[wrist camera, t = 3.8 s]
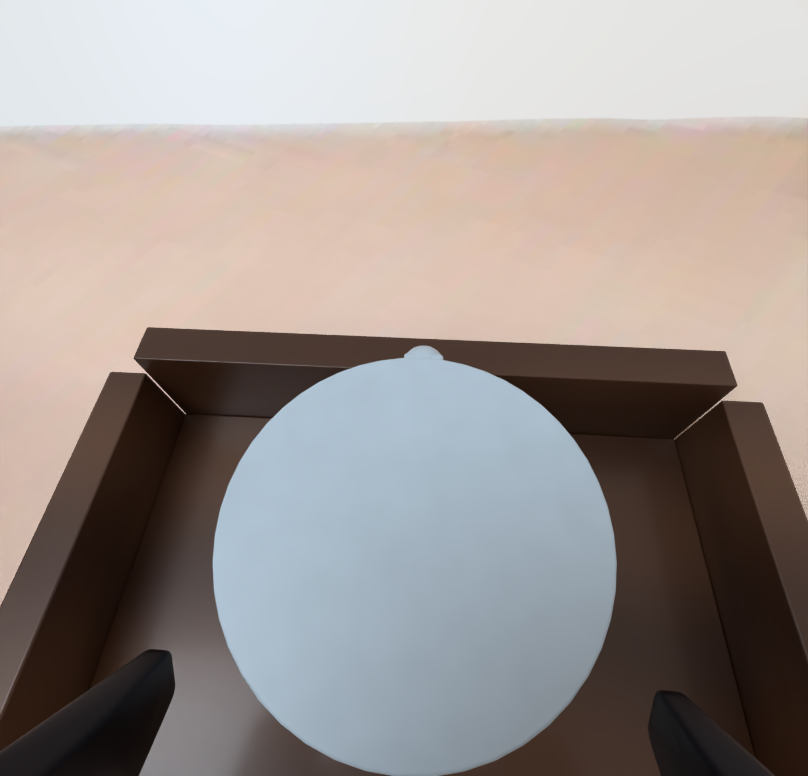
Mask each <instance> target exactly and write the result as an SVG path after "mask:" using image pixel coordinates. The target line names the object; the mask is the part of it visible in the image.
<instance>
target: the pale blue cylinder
mask: <svg viewBox="0 0 808 776" xmlns="http://www.w3.org/2000/svg"><path fill="white" fill-rule="evenodd" d="M616 569H617V560H616V550H615V539H614V532H613V527H612V523H611V519H610V514H609V510H608V506H607V503H606V501H605V498H604V495H603V492H602V490H601V487H600V484H599V482H598V480H597V478H596V476H595V474H594V472H593V470H592V468H591V466H590V464H589V462H588V460H587V458H586V457H585V455H584V454H583V452H582V451H581V449H580V448H579V446H578V445H577V443H576V442H575V440H574V439H573V438H572V436H571V435H570V434H569V433H568V432H567V431H566V429H565V428H564V427H563V426H562V425H561V423H560V422H559V421H558V420H557V419H556V418H555V417H554V416H553V415H552V414H551V413H549V412H548V411H547V410H546V409H545V408H544V407H543V406H542V405H541V404H540V403H538V402H537V401H536V400H534V399H533V398H532V397H530V396H529V395H528V394H526V393H525V392H524V391H522V390H520V389H519V388H517V387H515V386H513V385H512V384H510V383H508V382H507V381H505V380H503V379H501V378H499V377H496V376H494V375H492V374H490V373H488V372H485V371H483V370H480V369H477V368H473V367H470V366H467V365H464V364H460V363H455V362H450V361H445V360H443V356H442V355H441V354H440V353H439V352H438V351H437V350H436V349H434V348H432V347H430V346H417V347H414V348H413V349H411V350H410V351H409V352H408V353H406V354H405V355H404V358H398V359H389V360H381V361H376V362H372V363H368V364H363V365H359V366H356V367H353V368H350V369H348V370H345V371H342V372H339V373H337V374H335V375H333V376H331V377H329V378H326V379H324V380H322V381H320V382H318V383H317V384H315V385H314V386H312V387H310V388H309V389H307V390H306V391H304V392H302V393H301V394H299V395H298V396H297V397H296V398H294V399H293V400H292V401H291V402H289V403H288V404H287V405H285V406H284V407H283V408H282V409H281V410H280V411H279V412H278V413H277V414H276V415H275V416H274V417H273V418H272V419H271V420H270V421H269V422H268V423H267V424H266V425H265V426H264V428H263V429H262V430H261V431H260V433H259V434H258V435H257V436H256V438H255V439H254V440H253V441H252V443H251V444H250V446H249V448H248V449H247V451H246V452H245V454H244V455H243V457H242V459H241V460H240V462H239V464H238V466H237V468H236V470H235V472H234V474H233V476H232V478H231V480H230V483H229V485H228V488H227V491H226V494H225V496H224V499H223V502H222V505H221V508H220V513H219V517H218V522H217V527H216V532H215V539H214V551H213V582H214V594H215V600H216V605H217V611H218V616H219V621H220V624H221V627H222V630H223V633H224V636H225V639H226V642H227V645H228V648H229V650H230V652H231V654H232V656H233V658H234V661H235V663H236V665H237V667H238V669H239V671H240V673H241V675H242V676H243V678H244V679H245V681H246V682H247V684H248V685H249V687H250V688H251V690H252V691H253V693H254V694H255V695H256V697H257V698H258V700H259V701H260V702H261V703H262V704H263V705H264V707H265V708H266V709H267V710H268V711H269V712H270V713H271V714H272V715H273V716H274V717H275V718H276V720H277V721H278V722H279V723H280V724H281V725H283V726H284V727H285V728H286V729H288V730H289V731H290V732H291V733H293V734H294V735H295V736H296V737H298V738H299V739H300V740H302V741H303V742H304V743H305V744H307V745H309V746H310V747H312V748H314V749H316V750H318V751H319V752H321V753H323V754H325V755H327V756H328V757H330V758H332V759H334V760H336V761H339V762H342V763H345V764H347V765H350V766H353V767H356V768H358V769H361V770H364V771H368V772H374V773H379V774H385V775H391V776H441V775H447V774H453V773H459V772H464V771H467V770H470V769H473V768H476V767H479V766H482V765H485V764H488V763H490V762H493V761H496V760H498V759H499V758H501V757H503V756H505V755H507V754H509V753H510V752H512V751H514V750H516V749H518V748H520V747H521V746H523V745H525V744H526V743H527V742H529V741H530V740H531V739H532V738H534V737H535V736H536V735H537V734H539V733H540V732H541V731H543V730H544V729H545V728H546V727H548V726H549V725H550V724H551V723H552V722H553V721H554V720H555V719H556V718H557V716H558V715H559V714H560V713H561V712H562V711H563V710H564V709H565V708H566V707H567V706H568V705H569V704H570V703H571V701H572V700H573V698H574V697H575V695H576V694H577V692H578V691H579V689H580V688H581V686H582V685H583V684H584V682H585V681H586V679H587V678H588V676H589V674H590V672H591V670H592V668H593V666H594V664H595V662H596V660H597V657H598V655H599V653H600V651H601V649H602V646H603V643H604V640H605V637H606V634H607V630H608V627H609V624H610V621H611V616H612V610H613V604H614V598H615V592H616Z"/></svg>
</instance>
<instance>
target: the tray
mask: <svg viewBox="0 0 808 776" xmlns="http://www.w3.org/2000/svg"><path fill="white" fill-rule="evenodd" d="M417 346H430V347H432V348H434V349H436V350H437V351H438V352H439V353H440V354H441V355H442V356H443V360H445V361H450V362H455V363H460V364H464V365H467V366H470V367H473V368H477V369H480V370H483V371H485V372H488V373H490V374H492V375H494V376H496V377H499V378H501V379H503V380H505V381H507V382H508V383H510V384H512V385H513V386H515V387H517V388H519V389H520V390H522V391H524V392H525V393H526V394H528V395H529V396H530V397H532V398H533V399H534V400H536V401H537V402H538V403H540V404H541V405H542V406H543V407H544V408H545V409H546V410H547V411H548V412H549V413H551V414H552V415H553V416H554V417H555V418H556V419H557V420H558V421H559V422H560V423H561V425H562V426H563V427H564V428H565V429H566V431H567V432H568V433H569V434H570V435H571V436H572V438H573V439H574V440H575V442H576V443H577V445H578V446H579V448H580V449H581V451H582V452H583V454H584V455H585V457H586V458H587V460H588V462H589V464H590V466H591V468H592V470H593V472H594V474H595V476H596V478H597V480H598V482H599V484H600V487H601V490H602V492H603V495H604V498H605V501H606V503H607V506H608V510H609V514H610V519H611V523H612V527H613V532H614V539H615V550H616V560H617V569H616V592H615V598H614V604H613V610H612V616H611V621H610V624H609V627H608V630H607V634H606V637H605V640H604V643H603V646H602V649H601V651H600V653H599V655H598V657H597V660H596V662H595V664H594V666H593V668H592V670H591V672H590V674H589V676H588V678H587V679H586V681H585V682H584V684H583V685H582V686H581V688H580V689H579V691H578V692H577V694H576V695H575V697H574V698H573V700H572V701H571V703H570V704H569V705H568V706H567V707H566V708H565V709H564V710H563V711H562V712H561V713H560V714H559V715H558V716H557V718H556V719H555V720H554V721H553V722H552V723H551V724H550V725H549V726H548V727H546V728H545V729H544V730H543V731H541V732H540V733H539V734H537V735H536V736H535V737H534V738H532V739H531V740H530V741H529V742H527V743H526V744H525V745H523V746H521V747H520V748H518V749H516V750H514V751H512V752H510V753H509V754H507V755H505V756H503V757H501V758H499V759H498V760H496V761H493V762H490V763H488V764H485V765H482V766H479V767H476V768H473V769H470V770H467V771H464V772H459V773H453V774H447V775H441V776H661V774H660V771H659V768H658V765H657V762H656V758H655V755H654V752H653V749H652V745H651V742H650V739H649V733H648V723H649V718H650V714H651V709H652V704H653V700H654V696H655V693H656V692H657V691H658V690H667V691H678V692H681V693H683V694H684V695H686V696H687V697H688V698H689V699H690V700H691V701H693V702H694V703H695V704H696V705H697V706H698V707H699V708H700V709H701V710H703V711H704V712H705V713H706V714H707V715H708V716H709V717H710V718H711V719H713V720H714V721H715V722H716V723H717V724H718V725H719V726H720V727H721V728H723V729H724V730H725V731H726V732H727V733H728V734H729V735H730V736H731V737H733V738H734V739H735V740H736V741H737V742H738V743H739V744H740V745H741V746H743V747H744V748H745V749H746V750H747V751H748V752H749V753H750V754H751V755H753V756H754V757H755V758H756V759H757V760H758V761H759V762H760V763H761V764H763V765H764V766H765V767H766V768H767V769H768V770H769V771H770V772H771V773H773V774H774V775H775V776H808V520H807V517H806V515H805V512H804V510H803V507H802V504H801V502H800V499H799V496H798V494H797V491H796V488H795V486H794V483H793V481H792V478H791V475H790V473H789V470H788V467H787V465H786V462H785V460H784V457H783V454H782V452H781V449H780V446H779V444H778V441H777V438H776V436H775V433H774V431H773V428H772V425H771V423H770V420H769V417H768V415H767V412H766V410H765V407H764V404H763V403H761V402H740V401H721V402H720V403H719V404H718V405H716V406H715V407H714V408H713V409H711V410H710V411H709V412H708V413H707V414H705V415H704V416H703V417H702V418H701V419H699V420H698V421H697V422H696V423H694V424H693V425H692V426H691V427H690V428H688V429H687V430H686V431H685V432H684V433H682V434H681V435H680V436H679V437H677V438H676V439H675V440H674V438H675V437H676V436H677V435H679V434H680V433H681V432H682V431H684V430H685V429H686V428H687V427H688V426H690V425H691V424H692V423H693V422H694V421H696V420H697V419H698V418H699V417H700V416H702V415H703V414H704V413H705V412H706V411H708V410H709V409H710V408H711V407H712V406H714V405H715V404H716V403H717V402H718V401H720V400H721V399H722V398H723V397H724V396H726V395H727V394H728V393H729V392H730V391H732V390H733V389H734V388H735V387H736V386H737V383H736V380H735V377H734V374H733V372H732V369H731V366H730V363H729V360H728V358H727V355H726V352H725V351H705V350H681V349H656V348H632V347H608V346H584V345H560V344H536V343H512V342H488V341H463V340H439V339H415V338H391V337H367V336H343V335H319V334H294V333H270V332H246V331H222V330H198V329H174V328H150V327H148V328H147V329H146V331H145V333H144V336H143V338H142V340H141V342H140V345H139V347H138V349H137V351H136V354H135V356H134V359H135V360H136V362H137V363H138V364H139V365H140V366H141V367H142V368H143V369H144V370H145V371H146V372H147V373H148V374H149V375H150V376H151V377H152V378H153V379H154V380H155V381H156V382H157V383H158V385H159V386H160V387H161V388H162V389H163V390H164V391H165V392H166V393H167V394H168V395H169V396H170V397H171V398H172V399H173V400H174V401H175V402H176V403H177V404H178V405H179V406H180V408H181V409H182V410H183V411H184V412H185V413H186V415H185V414H184V413H183V412H182V411H181V410H180V409H179V408H178V406H177V405H176V404H175V403H174V402H173V401H172V400H171V399H170V398H169V397H168V396H167V395H166V394H165V393H164V392H163V391H162V390H161V389H160V388H159V387H158V386H157V385H156V384H155V383H154V382H153V381H152V380H151V378H150V377H149V376H148V375H147V374H144V373H124V372H111V373H110V374H109V376H108V378H107V381H106V383H105V385H104V387H103V389H102V391H101V393H100V395H99V398H98V400H97V402H96V404H95V406H94V408H93V410H92V412H91V415H90V417H89V419H88V421H87V423H86V425H85V427H84V430H83V432H82V434H81V436H80V438H79V440H78V442H77V444H76V447H75V449H74V451H73V453H72V455H71V457H70V459H69V462H68V464H67V466H66V468H65V470H64V472H63V474H62V476H61V479H60V481H59V483H58V485H57V487H56V489H55V491H54V493H53V496H52V498H51V500H50V502H49V504H48V506H47V508H46V511H45V513H44V515H43V517H42V519H41V521H40V523H39V525H38V528H37V530H36V532H35V534H34V536H33V538H32V540H31V543H30V545H29V547H28V549H27V551H26V553H25V555H24V557H23V560H22V562H21V564H20V566H19V568H18V570H17V572H16V574H15V577H14V579H13V581H12V583H11V585H10V587H9V589H8V592H7V594H6V596H5V598H4V600H3V602H2V604H1V606H0V751H2V750H3V749H5V748H6V747H7V746H9V745H10V744H12V743H13V742H15V741H16V740H17V739H19V738H20V737H22V736H23V735H25V734H26V733H28V732H29V731H30V730H32V729H33V728H35V727H36V726H38V725H39V724H41V723H42V722H43V721H45V720H46V719H48V718H49V717H51V716H52V715H53V714H55V713H56V712H58V711H59V710H61V709H62V708H64V707H65V706H66V705H68V704H69V703H71V702H72V701H74V700H75V699H76V698H78V697H79V696H81V695H82V694H84V693H85V692H87V691H88V690H89V689H91V688H92V687H94V686H95V685H97V684H98V683H99V682H101V681H102V680H104V679H105V678H107V677H108V676H110V675H111V674H112V673H114V672H115V671H117V670H118V669H120V668H121V667H122V666H124V665H125V664H127V663H128V662H130V661H131V660H133V659H134V658H135V657H137V656H138V655H140V654H141V653H143V652H144V651H146V650H149V649H159V650H167V651H169V652H170V653H171V655H172V660H173V668H174V676H175V691H174V695H173V698H172V701H171V703H170V705H169V708H168V710H167V712H166V715H165V717H164V719H163V722H162V724H161V726H160V729H159V731H158V733H157V735H156V738H155V740H154V742H153V745H152V747H151V749H150V752H149V754H148V756H147V759H146V761H145V763H144V765H143V768H142V770H141V772H140V775H139V776H391V775H385V774H379V773H374V772H368V771H364V770H361V769H358V768H356V767H353V766H350V765H347V764H345V763H342V762H339V761H336V760H334V759H332V758H330V757H328V756H327V755H325V754H323V753H321V752H319V751H318V750H316V749H314V748H312V747H310V746H309V745H307V744H305V743H304V742H303V741H302V740H300V739H299V738H298V737H296V736H295V735H294V734H293V733H291V732H290V731H289V730H288V729H286V728H285V727H284V726H283V725H281V724H280V723H279V722H278V721H277V720H276V718H275V717H274V716H273V715H272V714H271V713H270V712H269V711H268V710H267V709H266V708H265V707H264V705H263V704H262V703H261V702H260V701H259V700H258V698H257V697H256V695H255V694H254V693H253V691H252V690H251V688H250V687H249V685H248V684H247V682H246V681H245V679H244V678H243V676H242V675H241V673H240V671H239V669H238V667H237V665H236V663H235V661H234V658H233V656H232V654H231V652H230V650H229V648H228V645H227V642H226V639H225V636H224V633H223V630H222V627H221V624H220V621H219V616H218V611H217V605H216V600H215V594H214V582H213V551H214V539H215V532H216V527H217V522H218V517H219V513H220V508H221V505H222V502H223V499H224V496H225V494H226V491H227V488H228V485H229V483H230V480H231V478H232V476H233V474H234V472H235V470H236V468H237V466H238V464H239V462H240V460H241V459H242V457H243V455H244V454H245V452H246V451H247V449H248V448H249V446H250V444H251V443H252V441H253V440H254V439H255V438H256V436H257V435H258V434H259V433H260V431H261V430H262V429H263V428H264V426H265V425H266V424H267V423H268V422H269V421H270V420H271V419H272V418H273V417H274V416H275V415H276V414H277V413H278V412H279V411H280V410H281V409H282V408H283V407H284V406H285V405H287V404H288V403H289V402H291V401H292V400H293V399H294V398H296V397H297V396H298V395H299V394H301V393H302V392H304V391H306V390H307V389H309V388H310V387H312V386H314V385H315V384H317V383H318V382H320V381H322V380H324V379H326V378H329V377H331V376H333V375H335V374H337V373H339V372H342V371H345V370H348V369H350V368H353V367H356V366H359V365H363V364H368V363H372V362H376V361H381V360H389V359H398V358H404V355H405V354H406V353H408V352H409V351H410V350H411V349H413V348H414V347H417Z"/></svg>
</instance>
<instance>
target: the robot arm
mask: <svg viewBox="0 0 808 776" xmlns="http://www.w3.org/2000/svg"><path fill="white" fill-rule="evenodd" d="M174 691H175V676H174V668H173V660H172V655H171V653H170V652H169V651H167V650H159V649H149V650H146V651H144V652H143V653H141V654H140V655H138V656H137V657H135V658H134V659H133V660H131V661H130V662H128V663H127V664H125V665H124V666H122V667H121V668H120V669H118V670H117V671H115V672H114V673H112V674H111V675H110V676H108V677H107V678H105V679H104V680H102V681H101V682H99V683H98V684H97V685H95V686H94V687H92V688H91V689H89V690H88V691H87V692H85V693H84V694H82V695H81V696H79V697H78V698H76V699H75V700H74V701H72V702H71V703H69V704H68V705H66V706H65V707H64V708H62V709H61V710H59V711H58V712H56V713H55V714H53V715H52V716H51V717H49V718H48V719H46V720H45V721H43V722H42V723H41V724H39V725H38V726H36V727H35V728H33V729H32V730H30V731H29V732H28V733H26V734H25V735H23V736H22V737H20V738H19V739H17V740H16V741H15V742H13V743H12V744H10V745H9V746H7V747H6V748H5V749H3V750H2V751H0V776H139V775H140V772H141V770H142V768H143V765H144V763H145V761H146V759H147V756H148V754H149V752H150V749H151V747H152V745H153V742H154V740H155V738H156V735H157V733H158V731H159V729H160V726H161V724H162V722H163V719H164V717H165V715H166V712H167V710H168V708H169V705H170V703H171V701H172V698H173V695H174ZM648 733H649V739H650V742H651V745H652V749H653V752H654V755H655V758H656V762H657V765H658V768H659V771H660V774H661V776H775V775H774V774H773V773H771V772H770V771H769V770H768V769H767V768H766V767H765V766H764V765H763V764H761V763H760V762H759V761H758V760H757V759H756V758H755V757H754V756H753V755H751V754H750V753H749V752H748V751H747V750H746V749H745V748H744V747H743V746H741V745H740V744H739V743H738V742H737V741H736V740H735V739H734V738H733V737H731V736H730V735H729V734H728V733H727V732H726V731H725V730H724V729H723V728H721V727H720V726H719V725H718V724H717V723H716V722H715V721H714V720H713V719H711V718H710V717H709V716H708V715H707V714H706V713H705V712H704V711H703V710H701V709H700V708H699V707H698V706H697V705H696V704H695V703H694V702H693V701H691V700H690V699H689V698H688V697H687V696H686V695H684V694H683V693H681V692H678V691H667V690H658V691H657V692H656V693H655V696H654V700H653V704H652V709H651V714H650V718H649V723H648Z"/></svg>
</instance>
